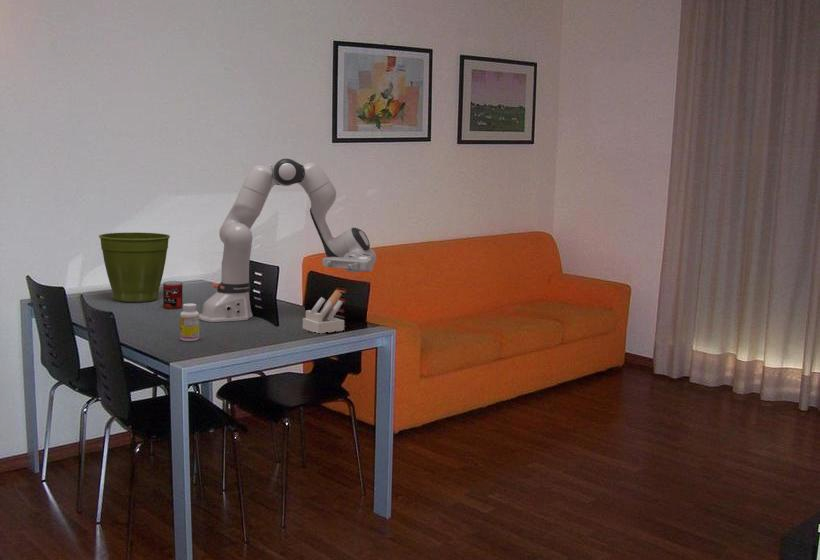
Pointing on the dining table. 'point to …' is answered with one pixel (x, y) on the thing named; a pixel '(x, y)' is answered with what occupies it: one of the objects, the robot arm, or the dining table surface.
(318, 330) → the white tube holder
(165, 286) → the canned food
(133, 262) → the plant pot
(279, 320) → the dining table surface
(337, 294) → the peg
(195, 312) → the supplement bottle
